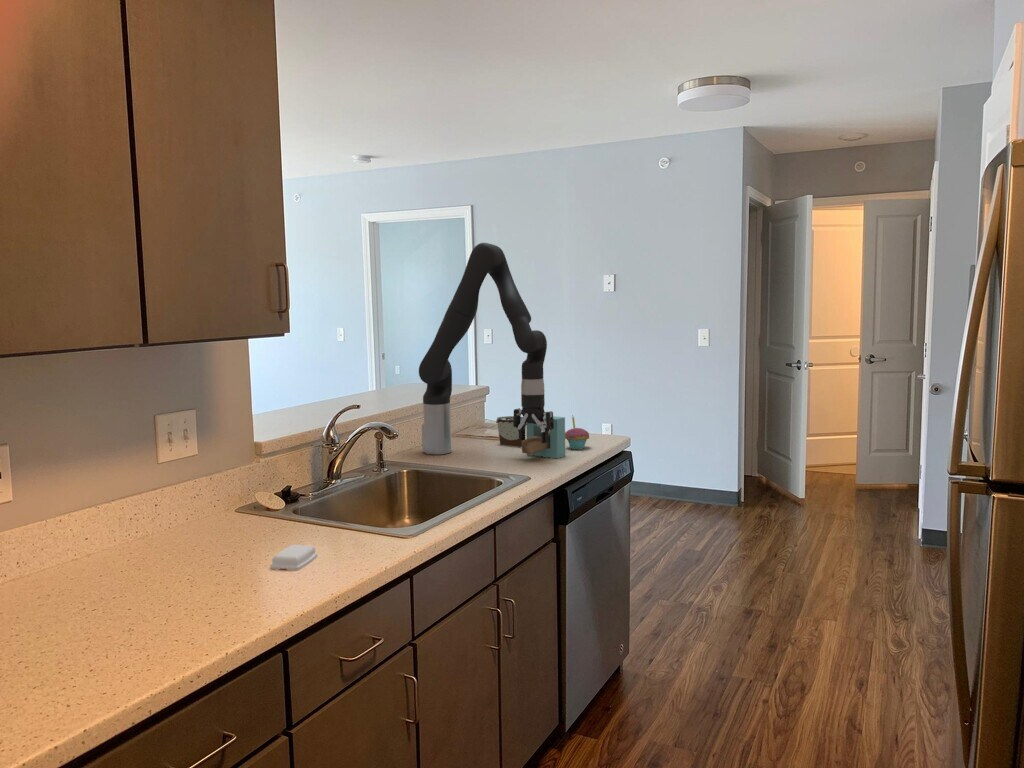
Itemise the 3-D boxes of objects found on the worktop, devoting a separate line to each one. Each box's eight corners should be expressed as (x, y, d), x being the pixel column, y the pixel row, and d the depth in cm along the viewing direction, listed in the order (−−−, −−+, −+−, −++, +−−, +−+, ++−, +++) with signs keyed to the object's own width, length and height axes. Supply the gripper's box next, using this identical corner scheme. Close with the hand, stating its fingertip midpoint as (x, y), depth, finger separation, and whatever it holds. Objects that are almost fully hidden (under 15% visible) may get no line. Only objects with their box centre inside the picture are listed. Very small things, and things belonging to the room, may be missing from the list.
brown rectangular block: (522, 453, 243) (521, 440, 242) (554, 440, 259) (554, 428, 259) (532, 454, 241) (531, 442, 240) (564, 441, 257) (564, 429, 256)
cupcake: (577, 451, 256) (577, 417, 255) (559, 448, 263) (559, 414, 261) (594, 448, 262) (594, 414, 260) (576, 444, 268) (576, 411, 267)
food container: (534, 445, 269) (534, 417, 268) (525, 448, 264) (525, 420, 263) (505, 441, 276) (505, 415, 275) (496, 444, 271) (495, 417, 269)
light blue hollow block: (527, 454, 253) (526, 416, 251) (535, 452, 257) (534, 414, 255) (557, 458, 246) (557, 419, 244) (565, 455, 250) (564, 417, 248)
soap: (290, 555, 158) (289, 542, 158) (319, 557, 157) (319, 543, 156) (267, 570, 150) (266, 556, 149) (299, 572, 148) (298, 558, 148)
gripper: (508, 392, 244) (509, 441, 245) (545, 395, 235) (545, 445, 237) (521, 389, 250) (521, 437, 252) (557, 392, 242) (558, 441, 243)
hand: (533, 441), depth 244 cm, fingers open, 8 cm apart
